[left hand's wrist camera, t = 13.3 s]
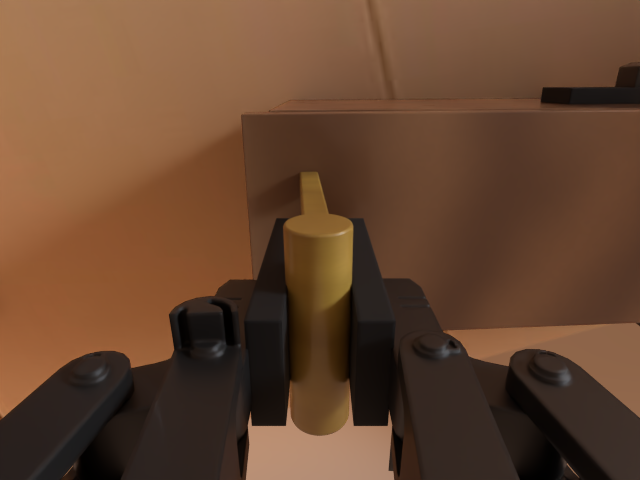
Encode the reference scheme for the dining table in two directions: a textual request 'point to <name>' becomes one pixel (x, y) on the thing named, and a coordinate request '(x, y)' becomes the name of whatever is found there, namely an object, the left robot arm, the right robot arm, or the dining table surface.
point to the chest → (434, 105)
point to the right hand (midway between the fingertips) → (536, 192)
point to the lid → (444, 223)
